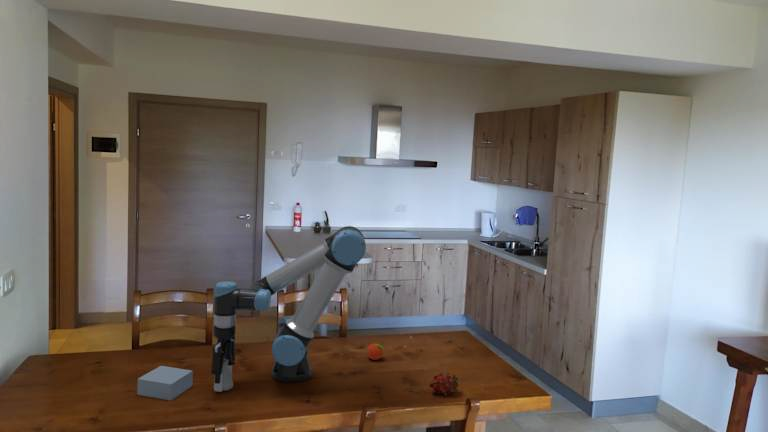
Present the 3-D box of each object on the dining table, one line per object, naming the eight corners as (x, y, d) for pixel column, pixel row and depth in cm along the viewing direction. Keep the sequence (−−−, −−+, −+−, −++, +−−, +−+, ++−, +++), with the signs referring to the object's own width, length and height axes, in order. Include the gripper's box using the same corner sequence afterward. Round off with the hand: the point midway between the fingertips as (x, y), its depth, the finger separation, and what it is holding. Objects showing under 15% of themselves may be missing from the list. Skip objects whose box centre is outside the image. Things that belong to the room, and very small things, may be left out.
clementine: (387, 359, 237) (388, 343, 236) (378, 364, 231) (379, 347, 230) (372, 355, 241) (373, 339, 240) (363, 359, 235) (364, 343, 235)
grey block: (192, 386, 199) (192, 370, 199) (170, 401, 187) (171, 384, 186) (160, 381, 202) (161, 365, 202) (137, 395, 190) (137, 378, 189)
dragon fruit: (460, 396, 207) (431, 404, 203) (451, 377, 213) (422, 384, 209) (465, 384, 201) (435, 392, 198) (455, 365, 207) (426, 371, 203)
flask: (227, 392, 195) (228, 365, 194) (209, 389, 197) (209, 362, 196) (237, 384, 202) (237, 358, 201) (219, 382, 204) (219, 356, 203)
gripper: (226, 316, 208) (225, 375, 210) (201, 332, 188) (200, 397, 190) (245, 318, 207) (243, 377, 209) (222, 334, 187) (220, 399, 189)
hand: (223, 386), depth 199 cm, fingers closed on flask, 7 cm apart
